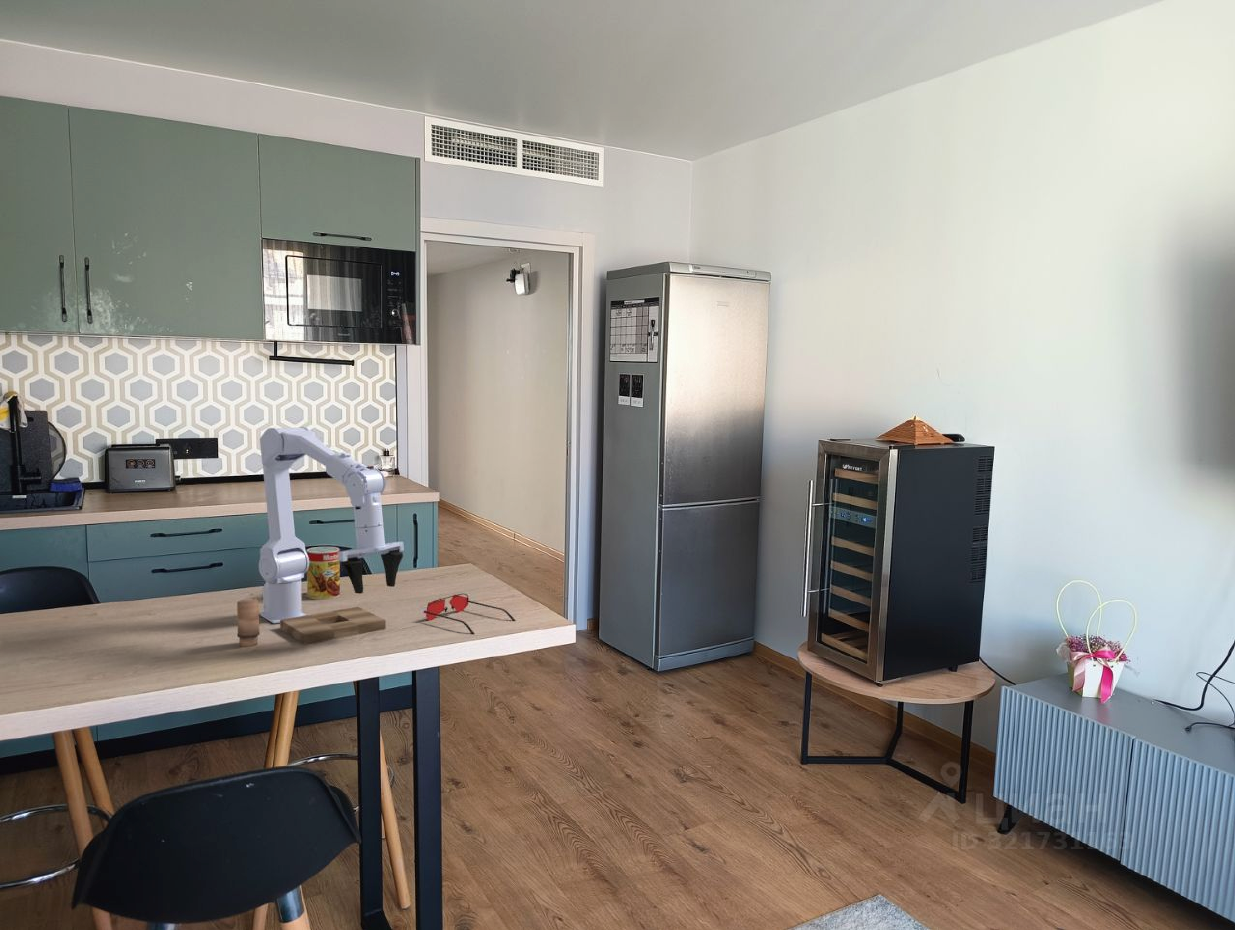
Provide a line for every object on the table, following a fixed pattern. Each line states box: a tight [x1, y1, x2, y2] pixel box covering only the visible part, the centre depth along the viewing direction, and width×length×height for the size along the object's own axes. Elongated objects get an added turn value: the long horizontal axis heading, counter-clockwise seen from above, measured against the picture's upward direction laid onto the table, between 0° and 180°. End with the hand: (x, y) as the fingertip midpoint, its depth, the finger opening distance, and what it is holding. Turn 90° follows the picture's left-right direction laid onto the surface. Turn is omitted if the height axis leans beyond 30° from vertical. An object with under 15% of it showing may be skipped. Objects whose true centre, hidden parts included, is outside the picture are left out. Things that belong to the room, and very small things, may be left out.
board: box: [279, 606, 387, 645], centre depth 181 cm, size 14×18×2 cm
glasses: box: [423, 593, 517, 635], centre depth 190 cm, size 14×16×5 cm
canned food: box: [306, 546, 341, 601], centre depth 209 cm, size 8×8×12 cm
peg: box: [236, 598, 260, 648], centre depth 169 cm, size 4×4×9 cm
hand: (375, 589), depth 174 cm, fingers open, 7 cm apart
